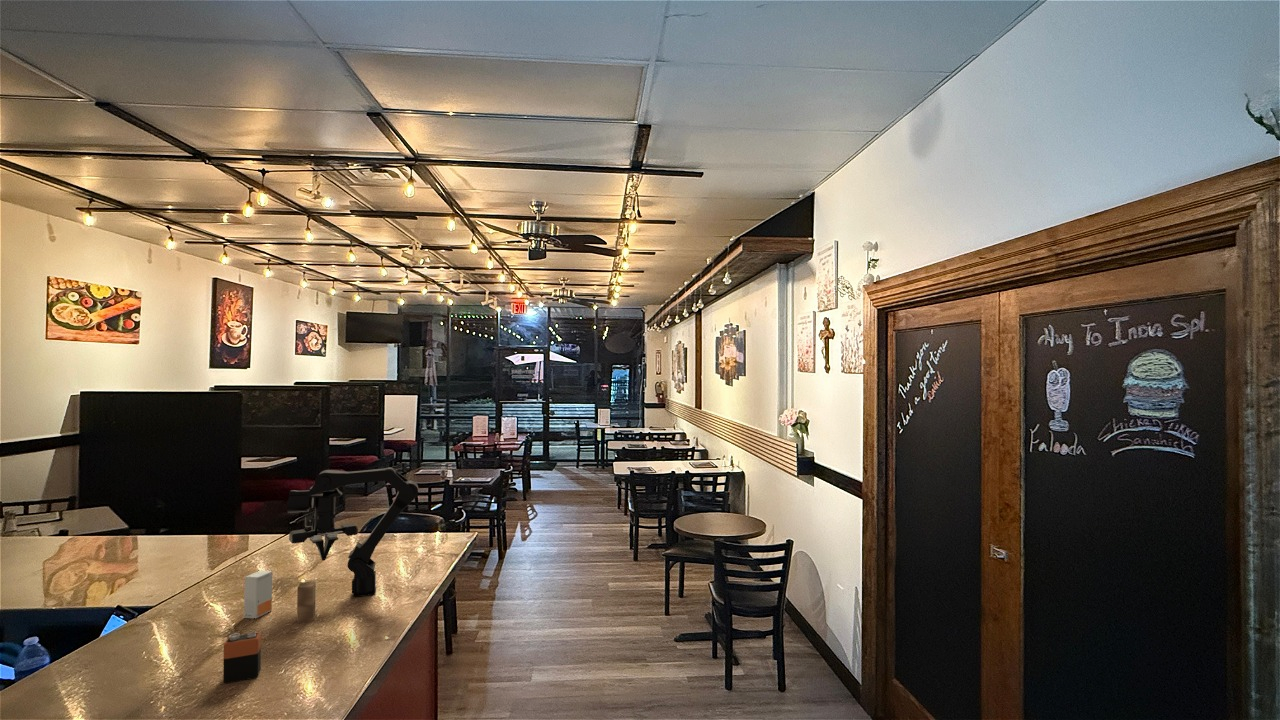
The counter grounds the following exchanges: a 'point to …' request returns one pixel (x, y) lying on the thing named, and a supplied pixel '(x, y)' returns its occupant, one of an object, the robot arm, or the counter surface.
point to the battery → (242, 657)
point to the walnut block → (306, 602)
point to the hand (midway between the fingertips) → (323, 560)
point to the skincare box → (258, 594)
